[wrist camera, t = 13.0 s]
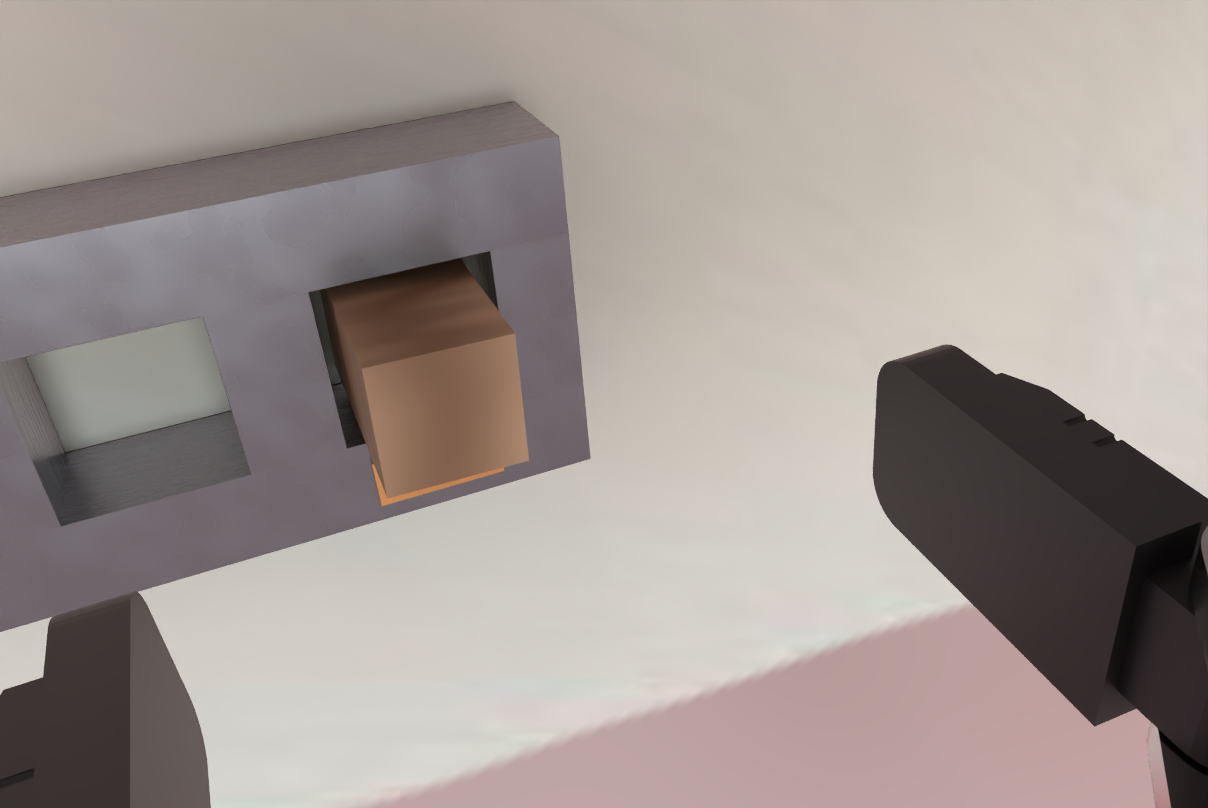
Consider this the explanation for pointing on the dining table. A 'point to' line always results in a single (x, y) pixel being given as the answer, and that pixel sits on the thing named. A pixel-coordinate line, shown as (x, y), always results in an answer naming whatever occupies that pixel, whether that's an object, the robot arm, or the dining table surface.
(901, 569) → the dining table surface
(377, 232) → the grey socket board
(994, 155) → the dining table surface
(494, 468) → the walnut peg
